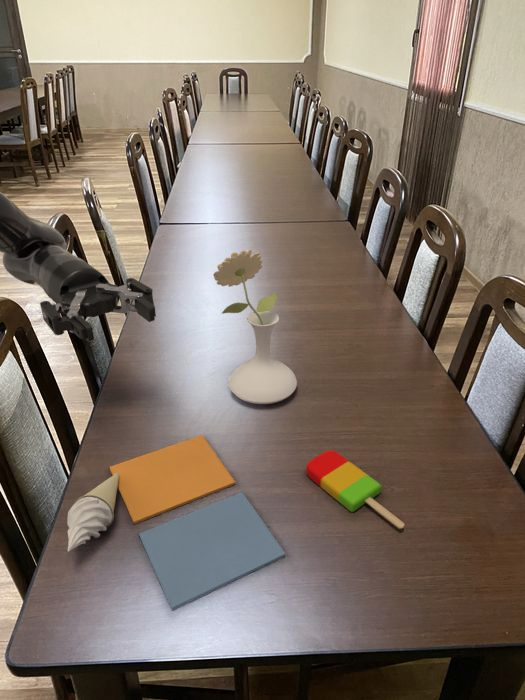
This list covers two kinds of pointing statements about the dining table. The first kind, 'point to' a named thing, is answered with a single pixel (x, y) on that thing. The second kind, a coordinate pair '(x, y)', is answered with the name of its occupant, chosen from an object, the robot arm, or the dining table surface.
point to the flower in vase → (261, 371)
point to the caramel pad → (170, 478)
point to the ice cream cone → (92, 513)
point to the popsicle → (347, 483)
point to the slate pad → (209, 549)
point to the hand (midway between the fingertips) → (122, 324)
